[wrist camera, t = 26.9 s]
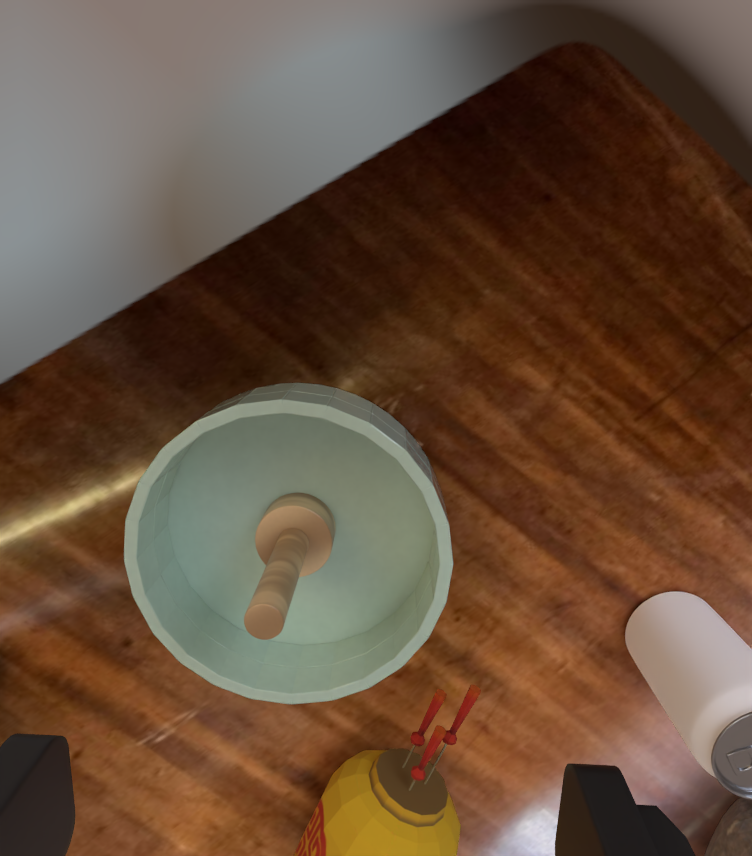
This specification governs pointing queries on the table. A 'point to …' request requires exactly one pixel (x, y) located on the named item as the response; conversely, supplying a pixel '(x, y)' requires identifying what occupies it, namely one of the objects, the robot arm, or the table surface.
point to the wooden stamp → (287, 557)
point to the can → (698, 681)
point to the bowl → (733, 831)
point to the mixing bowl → (242, 566)
